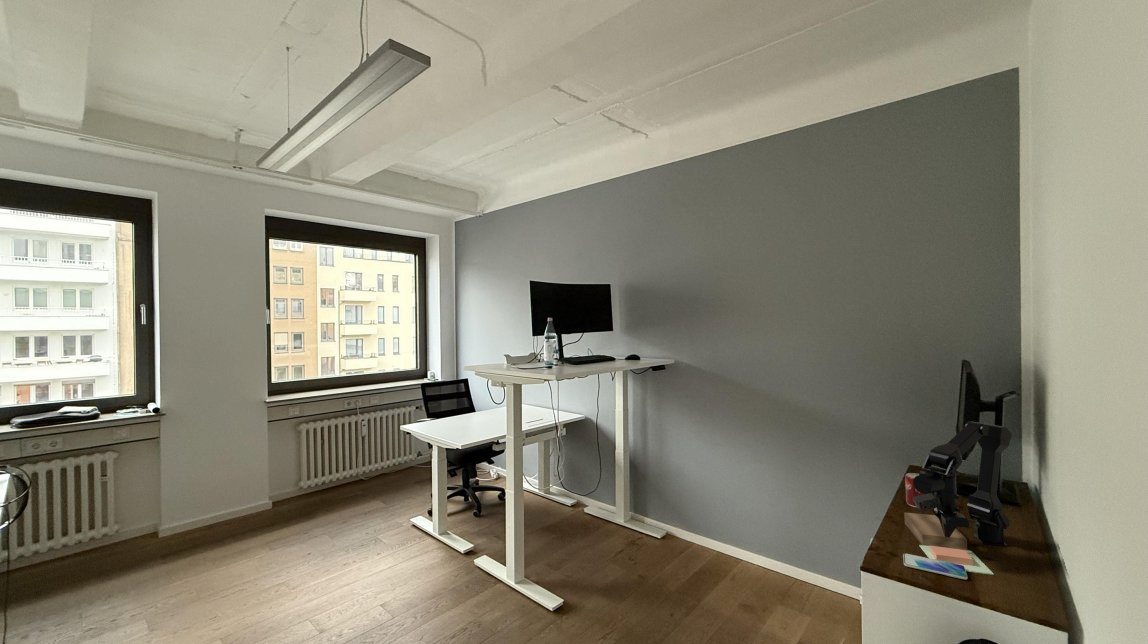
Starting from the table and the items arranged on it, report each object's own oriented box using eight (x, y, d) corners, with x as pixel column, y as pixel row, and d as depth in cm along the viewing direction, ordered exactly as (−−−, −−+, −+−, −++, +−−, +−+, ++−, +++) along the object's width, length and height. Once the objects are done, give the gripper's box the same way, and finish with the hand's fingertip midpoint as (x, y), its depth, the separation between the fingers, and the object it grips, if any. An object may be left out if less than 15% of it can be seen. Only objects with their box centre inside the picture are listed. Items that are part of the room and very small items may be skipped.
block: (972, 559, 136) (972, 565, 136) (964, 549, 142) (964, 556, 142) (936, 554, 140) (936, 560, 140) (929, 545, 145) (930, 551, 145)
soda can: (931, 505, 180) (930, 476, 181) (924, 510, 176) (923, 480, 176) (910, 500, 186) (909, 471, 187) (903, 504, 182) (902, 475, 182)
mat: (971, 551, 145) (971, 550, 145) (993, 574, 132) (993, 573, 132) (919, 545, 150) (919, 544, 150) (936, 567, 137) (936, 566, 137)
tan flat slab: (944, 527, 162) (943, 516, 162) (967, 551, 145) (966, 539, 145) (904, 523, 166) (904, 512, 166) (922, 546, 150) (922, 534, 150)
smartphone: (903, 552, 144) (964, 565, 135) (903, 555, 144) (964, 568, 135) (903, 563, 138) (968, 578, 129) (903, 566, 138) (968, 580, 129)
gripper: (905, 477, 157) (907, 521, 157) (925, 497, 139) (928, 547, 139) (944, 480, 153) (946, 525, 153) (970, 501, 135) (972, 552, 135)
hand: (947, 536), depth 145 cm, fingers closed
